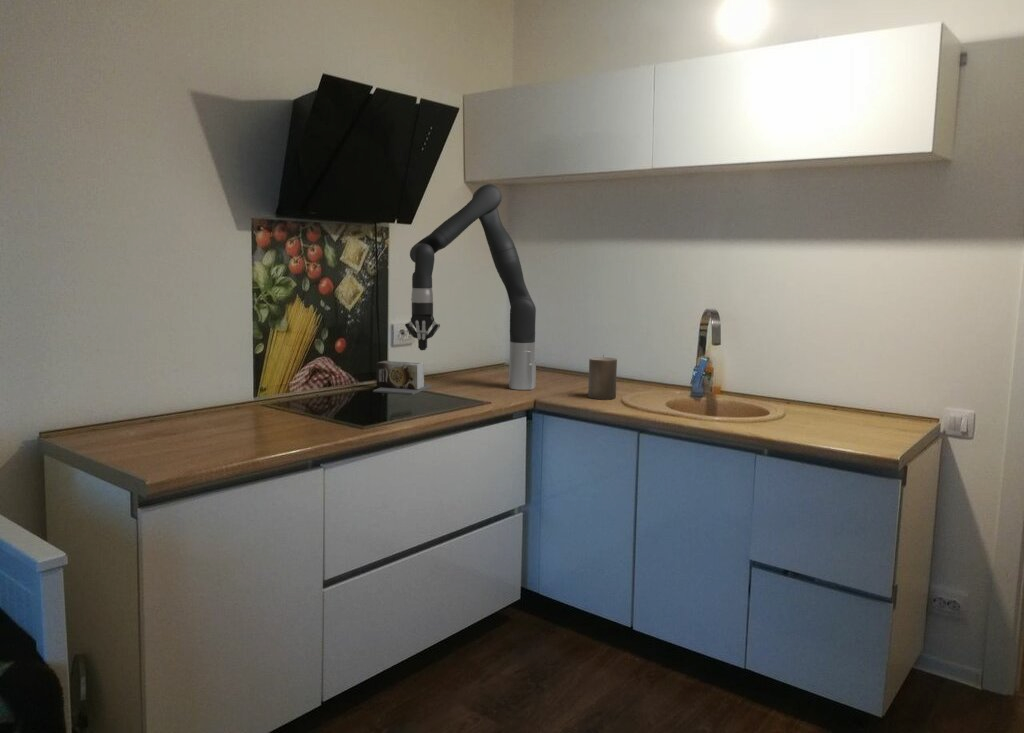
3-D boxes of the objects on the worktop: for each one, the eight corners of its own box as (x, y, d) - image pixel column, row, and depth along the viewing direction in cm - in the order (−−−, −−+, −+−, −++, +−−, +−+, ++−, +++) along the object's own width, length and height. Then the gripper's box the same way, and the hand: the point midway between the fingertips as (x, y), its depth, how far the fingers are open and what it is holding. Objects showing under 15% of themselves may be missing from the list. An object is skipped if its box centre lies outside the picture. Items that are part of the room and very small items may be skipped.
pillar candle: (618, 399, 259) (620, 356, 258) (590, 399, 259) (591, 356, 257) (612, 395, 269) (614, 353, 267) (585, 395, 268) (587, 353, 267)
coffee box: (417, 390, 268) (376, 387, 272) (424, 387, 274) (384, 385, 278) (417, 364, 267) (375, 362, 271) (424, 362, 273) (383, 360, 277)
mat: (431, 386, 279) (431, 385, 279) (412, 394, 262) (412, 393, 262) (393, 384, 283) (393, 382, 283) (372, 392, 266) (372, 390, 266)
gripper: (443, 301, 268) (443, 349, 270) (408, 300, 271) (409, 348, 274) (436, 302, 261) (436, 352, 263) (400, 301, 264) (401, 350, 266)
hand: (422, 350), depth 268 cm, fingers closed
